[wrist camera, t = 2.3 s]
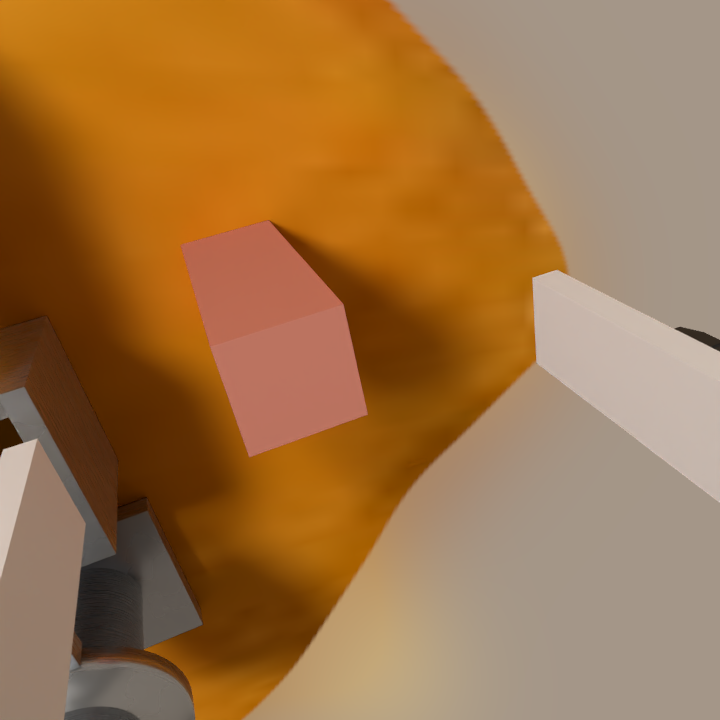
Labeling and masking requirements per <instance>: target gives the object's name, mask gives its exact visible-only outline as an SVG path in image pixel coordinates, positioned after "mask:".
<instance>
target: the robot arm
mask: <svg viewBox="0 0 720 720" xmlns="http://www.w3.org/2000/svg"><path fill="white" fill-rule="evenodd" d="M533 298H534V319H535V340H536V361H537V364H538V365H539V366H541V367H542V368H543V369H545V370H546V371H547V372H549V373H550V374H551V375H553V376H554V377H555V378H557V379H558V380H559V381H561V382H562V383H563V384H564V385H566V386H567V387H568V388H570V389H571V390H572V391H574V392H575V393H576V394H578V395H579V396H580V397H581V398H583V399H584V400H585V401H587V402H588V403H590V404H591V405H592V406H593V407H595V408H596V409H598V410H599V411H600V412H601V413H603V414H604V415H605V416H606V417H608V418H609V419H610V420H612V421H613V422H614V423H616V424H617V425H619V426H620V427H621V428H622V429H624V430H625V431H626V432H627V433H629V434H630V435H631V436H633V437H634V438H635V439H637V440H638V441H639V442H641V443H642V444H643V445H645V446H646V447H647V448H649V449H650V450H651V451H652V452H654V453H655V454H656V455H658V456H659V457H661V458H662V459H663V460H664V461H666V462H667V463H668V464H670V465H671V466H672V467H674V468H675V469H676V470H678V471H679V472H680V473H681V474H683V475H684V476H685V477H687V478H688V479H689V480H691V481H692V482H693V483H694V484H696V485H697V486H698V487H700V488H701V489H702V490H704V491H705V492H706V493H708V494H709V495H710V496H712V497H713V498H714V499H715V500H717V501H718V502H720V340H719V339H717V338H715V337H712V336H710V335H708V334H706V333H704V332H700V331H696V330H691V329H687V328H683V327H678V328H675V329H673V328H671V327H669V326H667V325H665V324H664V323H662V322H659V321H657V320H656V319H654V318H652V317H650V316H648V315H645V314H643V313H642V312H639V311H638V310H636V309H634V308H631V307H630V306H628V305H626V304H624V303H621V302H620V301H618V300H616V299H614V298H612V297H610V296H608V295H606V294H604V293H602V292H600V291H598V290H596V289H594V288H592V287H590V286H588V285H586V284H584V283H582V282H580V281H578V280H576V279H574V278H572V277H570V276H568V275H566V274H564V273H562V272H560V271H558V270H555V271H552V272H549V273H546V274H543V275H540V276H537V277H534V278H533ZM85 525H86V523H85V522H84V520H83V518H82V516H81V514H80V513H79V511H78V509H77V507H76V506H75V504H74V502H73V500H72V499H71V497H70V495H69V493H68V492H67V490H66V488H65V486H64V484H63V483H62V481H61V479H60V477H59V476H58V474H57V472H56V470H55V469H54V467H53V465H52V463H51V462H50V460H49V458H48V456H47V454H46V453H45V451H44V449H43V447H42V446H41V444H40V442H39V440H38V439H34V440H31V441H28V442H25V443H22V444H19V445H16V446H13V447H10V448H7V449H4V450H3V451H2V454H1V457H0V720H64V715H65V706H66V697H67V688H68V679H69V670H70V661H71V652H72V643H73V634H74V625H75V616H76V607H77V598H78V589H79V579H80V570H81V561H82V552H83V543H84V534H85Z"/></svg>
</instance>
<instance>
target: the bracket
mask: <svg viewBox="0 0 720 720" xmlns="http://www.w3.org/2000/svg"><path fill="white" fill-rule="evenodd" d="M8 417H9V419H10V420H11V422H12V424H13V425H14V427H15V429H16V431H17V432H18V434H19V436H20V437H21V439H22V441H23V443H25V442H28V441H31V440H34V439H38V440H39V442H40V444H41V446H42V447H43V449H44V451H45V453H46V454H47V456H48V458H49V460H50V462H51V463H52V465H53V467H54V469H55V470H56V472H57V474H58V476H59V477H60V479H61V481H62V483H63V484H64V486H65V488H66V490H67V492H68V493H69V495H70V497H71V499H72V500H73V502H74V504H75V506H76V507H77V509H78V511H79V513H80V514H81V516H82V518H83V520H84V522H85V523H86V525H85V534H84V543H83V552H82V561H81V567H84V566H86V565H89V564H92V563H94V562H97V561H99V560H102V559H105V558H107V557H110V556H113V555H115V554H116V544H117V496H118V459H117V457H116V455H115V453H114V451H113V449H112V447H111V445H110V443H109V441H108V439H107V437H106V435H105V432H104V430H103V428H102V426H101V424H100V422H99V420H98V418H97V416H96V414H95V412H94V410H93V408H92V406H91V404H90V402H89V400H88V398H87V396H86V394H85V392H84V390H83V388H82V386H81V384H80V382H79V380H78V378H77V376H76V374H75V372H74V370H73V368H72V366H71V364H70V362H69V360H68V358H67V356H66V354H65V352H64V349H63V347H62V345H61V343H60V341H59V339H58V337H57V335H56V333H55V331H54V329H53V327H52V325H51V323H50V321H49V319H48V317H47V316H43V317H40V318H36V319H33V320H30V321H26V322H23V323H19V324H16V325H12V326H9V327H6V328H2V329H0V420H2V419H5V418H8Z"/></svg>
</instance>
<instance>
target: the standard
mask: <svg viewBox="0 0 720 720" xmlns="http://www.w3.org/2000/svg"><path fill="white" fill-rule="evenodd" d="M201 625H203V621H202V614H201V609H200V607H199V605H198V602H197V600H196V598H195V596H194V594H193V592H192V590H191V588H190V586H189V584H188V582H187V580H186V578H185V576H184V573H183V571H182V569H181V567H180V565H179V563H178V561H177V559H176V557H175V555H174V553H173V551H172V549H171V547H170V544H169V542H168V540H167V538H166V536H165V534H164V532H163V530H162V528H161V526H160V524H159V522H158V520H157V518H156V515H155V513H154V511H153V509H152V507H151V505H150V503H149V501H148V499H147V497H146V498H143V499H141V500H138V501H135V502H132V503H130V504H127V505H124V506H121V507H119V508H117V544H116V554H115V555H113V556H110V557H107V558H105V559H102V560H99V561H97V562H94V563H92V564H89V565H86V566H84V567H81V570H80V579H79V589H78V598H77V607H76V616H75V625H74V634H73V643H72V652H71V661H70V670H69V679H68V688H67V697H66V706H65V715H64V720H195V713H194V704H193V695H192V690H191V686H190V684H189V681H188V679H187V678H186V676H185V675H184V674H183V672H182V671H181V670H180V669H179V668H178V667H177V666H176V665H174V664H173V663H171V662H170V661H169V660H167V659H165V658H163V657H161V656H159V655H157V654H154V653H151V652H148V651H145V650H144V649H145V648H148V647H150V646H152V645H155V644H157V643H160V642H162V641H165V640H167V639H169V638H172V637H174V636H177V635H179V634H181V633H184V632H186V631H189V630H191V629H194V628H196V627H198V626H201Z"/></svg>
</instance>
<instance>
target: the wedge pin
mask: <svg viewBox="0 0 720 720" xmlns="http://www.w3.org/2000/svg"><path fill="white" fill-rule="evenodd" d="M181 248H182V251H183V255H184V258H185V262H186V265H187V269H188V272H189V275H190V279H191V282H192V286H193V289H194V293H195V296H196V300H197V303H198V306H199V310H200V313H201V317H202V320H203V324H204V327H205V331H206V334H207V337H208V341H209V344H210V348H211V350H212V353H213V356H214V359H215V362H216V364H217V367H218V370H219V373H220V376H221V379H222V381H223V384H224V387H225V390H226V393H227V396H228V398H229V401H230V404H231V407H232V410H233V412H234V415H235V418H236V421H237V424H238V427H239V429H240V432H241V435H242V438H243V441H244V443H245V446H246V449H247V452H248V455H249V457H251V456H254V455H257V454H260V453H262V452H265V451H268V450H271V449H273V448H276V447H279V446H282V445H285V444H287V443H290V442H293V441H296V440H298V439H301V438H304V437H307V436H309V435H312V434H315V433H318V432H320V431H323V430H326V429H329V428H332V427H334V426H337V425H340V424H343V423H345V422H348V421H351V420H354V419H356V418H359V417H362V416H365V415H368V413H367V409H366V404H365V400H364V395H363V391H362V386H361V381H360V377H359V372H358V368H357V363H356V359H355V354H354V350H353V345H352V341H351V336H350V332H349V327H348V322H347V318H346V313H345V309H344V304H343V303H342V302H341V301H340V300H339V299H338V298H337V296H336V295H335V294H334V293H333V292H332V291H331V290H330V289H329V287H328V286H327V285H326V284H325V283H324V282H323V281H322V280H321V278H320V277H319V276H318V275H317V274H316V273H315V272H314V271H313V269H312V268H311V267H310V266H309V265H308V264H307V263H306V262H305V261H304V259H303V258H302V257H301V256H300V255H299V254H298V253H297V252H296V250H295V249H294V248H293V247H292V246H291V245H290V244H289V243H288V241H287V240H286V239H285V238H284V237H283V236H282V235H281V234H280V232H279V231H278V230H277V229H276V228H275V227H274V226H273V225H272V224H271V222H270V221H269V220H267V221H264V222H260V223H257V224H253V225H250V226H246V227H243V228H239V229H235V230H232V231H228V232H225V233H221V234H218V235H214V236H211V237H207V238H203V239H200V240H196V241H193V242H189V243H186V244H182V245H181Z"/></svg>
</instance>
